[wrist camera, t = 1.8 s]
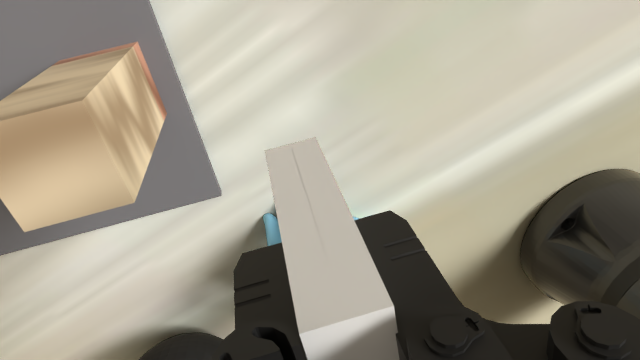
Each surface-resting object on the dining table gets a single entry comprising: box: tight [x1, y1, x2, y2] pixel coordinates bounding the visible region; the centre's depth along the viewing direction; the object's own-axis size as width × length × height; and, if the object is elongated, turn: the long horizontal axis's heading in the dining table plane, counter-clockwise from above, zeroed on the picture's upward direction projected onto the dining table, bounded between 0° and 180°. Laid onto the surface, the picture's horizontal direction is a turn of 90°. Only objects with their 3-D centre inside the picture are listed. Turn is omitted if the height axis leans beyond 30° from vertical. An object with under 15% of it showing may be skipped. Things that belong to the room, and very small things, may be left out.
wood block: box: [0, 42, 167, 232], centre depth 23 cm, size 5×5×12 cm
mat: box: [0, 0, 221, 255], centre depth 28 cm, size 20×19×1 cm
